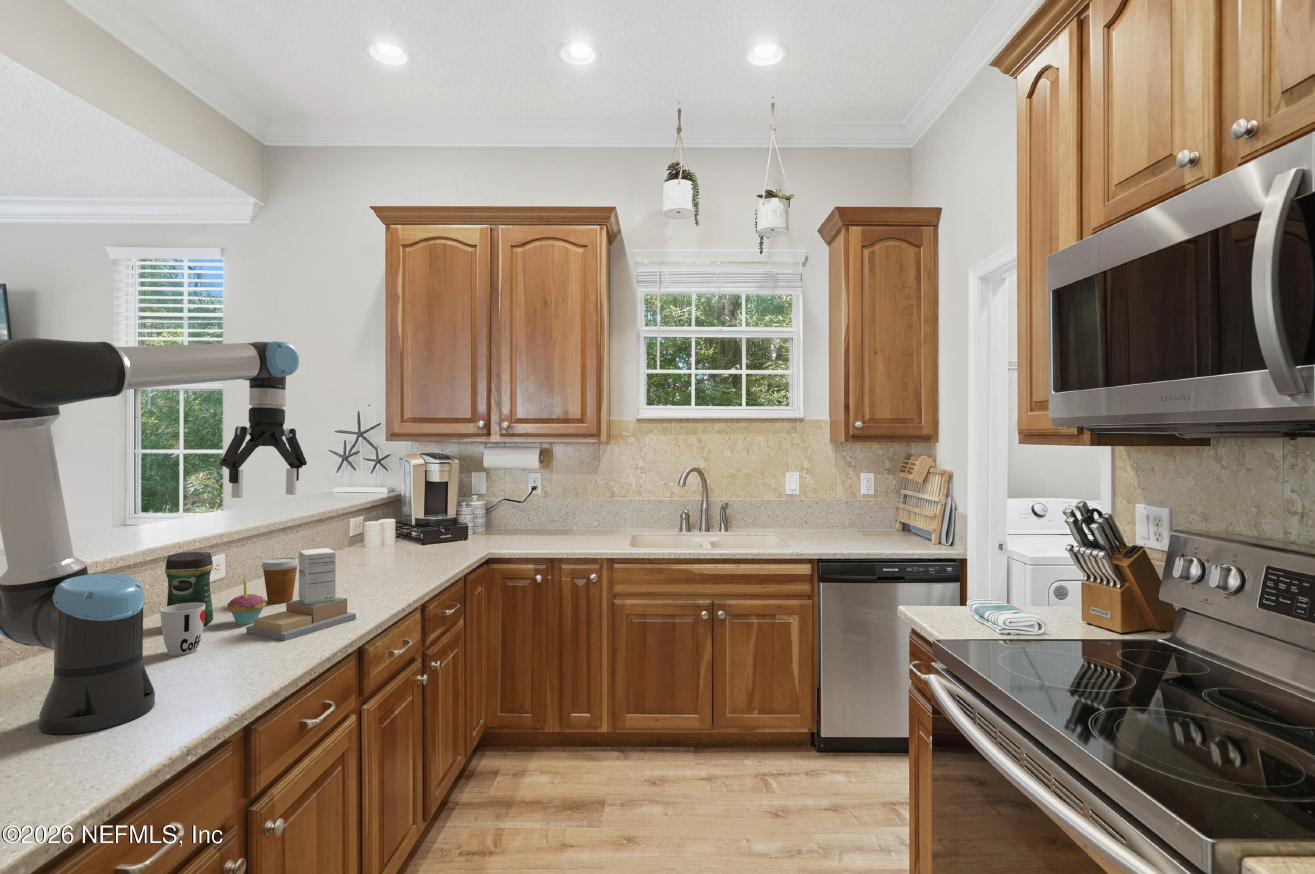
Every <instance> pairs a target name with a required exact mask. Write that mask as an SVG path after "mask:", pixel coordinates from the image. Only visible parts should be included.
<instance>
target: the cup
mask: <svg viewBox="0 0 1315 874" xmlns="http://www.w3.org/2000/svg"><path fill="white" fill-rule="evenodd" d="M159 610H160V611H159V612H160V625H161V626H160V627H161V632H162V637H163V643H164V646H165V648H166V651H167V653H168V655H169V656H171V657H172V656H173V657H175V656H176V657H179V656H186V655H189V654H193V653H195V652H197V651H198V648H199V646H200V643H201V639H202V635H203V631H204V626H205V625H204V617H205V604H204V603H183V604H176V605H171V606H167V605H166V606H165V607H162V608H161V609H159Z"/></svg>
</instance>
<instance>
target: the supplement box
mask: <svg viewBox="0 0 1315 874" xmlns="http://www.w3.org/2000/svg"><path fill="white" fill-rule="evenodd" d="M298 562H299V564H298V600H300V599H301V600H302V601H303V602H304V603H305V604H309V603H317V602H324V601H330V600H335V599H336V597H337V596H336V595H337V593H336V589H337V588H336V586H337V585H336V584H337V581H336V580H337V579H336V578H337V575H336V574H337V552H336V551H335V550H333V549H331V548H329V547H324V548H323V547H322V548H313V549H305V550H298Z"/></svg>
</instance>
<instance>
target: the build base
mask: <svg viewBox="0 0 1315 874" xmlns="http://www.w3.org/2000/svg"><path fill="white" fill-rule="evenodd" d="M356 619H357V613H355V612H349V611H348V598H347V597H341V596H336V599H335V600H330V601H324V602H317V603H309V604H305V603H304V602H303V601H302V600H301V599H297V600H292V601H290V602H286V606H285V610H283V611H280V612H276V613H273V614H269V615H264V616H261V617H260V616H259V618H256V619H254V623H253V624H252V625H248V626H246V628H245V629H246V630H245V631H246V634H250V635H255V636H259V637H265V638H269V639H275V640H279V641H284V642H286V641H289V640H292V639H296V638H299V637H302V636H306V635H308V634H313V633H315V632H318V631H321V630H325V629H328V628H332V627H334V626H338V625H341V624H345V623H349V622H351V621H352V622H353V621H354V620H356Z"/></svg>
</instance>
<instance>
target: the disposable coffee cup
mask: <svg viewBox="0 0 1315 874" xmlns="http://www.w3.org/2000/svg"><path fill="white" fill-rule="evenodd" d="M298 567H299V559H298V558H297V557H291V556H290V557H288V556H287V557H286V556H282V557H274V558H268V559H265V560H263V561H262V564H261V568H262V570H263V578H264V584H265V585H264V586H265V593H266V599H267V600H266V602H267V603H268V604H271V605H274V604H275V605H276V604H285V603H288V602H292V601H294V599H293V598H294V593H295V592H294V591H295V584H296V578H297V570H298Z"/></svg>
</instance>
